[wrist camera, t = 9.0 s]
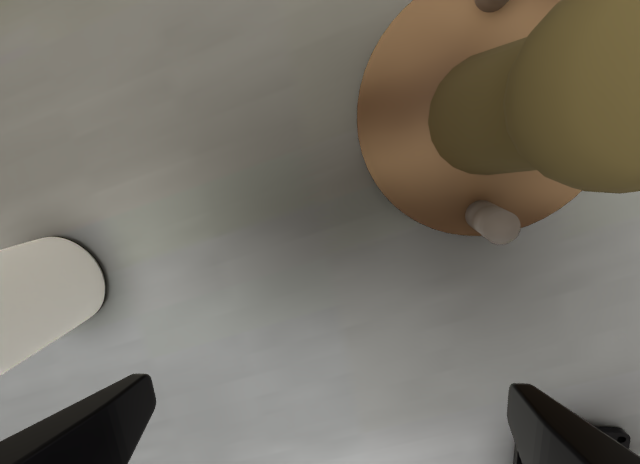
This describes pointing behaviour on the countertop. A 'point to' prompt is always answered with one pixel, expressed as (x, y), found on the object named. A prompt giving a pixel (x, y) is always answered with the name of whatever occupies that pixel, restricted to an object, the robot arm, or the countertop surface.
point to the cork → (550, 101)
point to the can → (44, 295)
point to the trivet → (413, 112)
